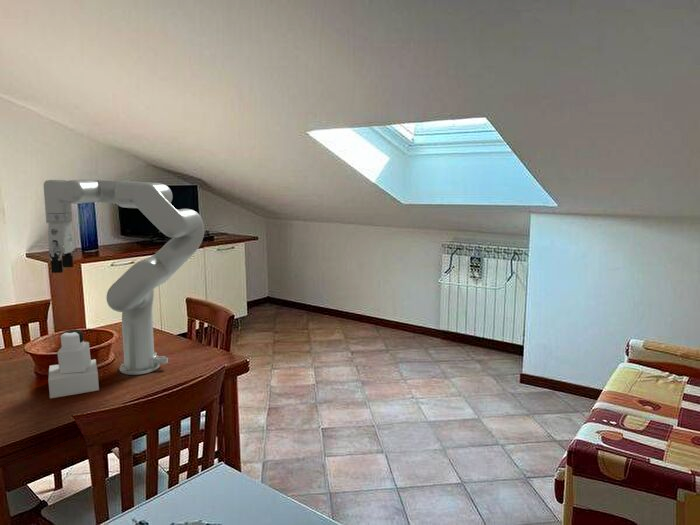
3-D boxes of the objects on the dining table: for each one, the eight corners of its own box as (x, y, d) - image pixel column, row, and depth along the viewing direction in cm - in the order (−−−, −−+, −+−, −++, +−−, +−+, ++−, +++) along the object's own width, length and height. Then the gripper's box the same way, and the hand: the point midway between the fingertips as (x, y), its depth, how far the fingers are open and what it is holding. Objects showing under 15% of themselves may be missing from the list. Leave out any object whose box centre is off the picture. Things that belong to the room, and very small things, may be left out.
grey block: (96, 376, 169) (95, 359, 168) (99, 391, 158) (97, 372, 157) (51, 383, 163) (49, 365, 162) (50, 399, 152) (48, 380, 151)
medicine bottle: (67, 364, 162) (62, 328, 159) (91, 362, 164) (87, 326, 161) (59, 374, 155) (54, 336, 153) (85, 372, 157) (80, 334, 154)
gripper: (62, 220, 161) (65, 274, 164) (80, 216, 178) (83, 265, 181) (35, 220, 159) (39, 275, 162) (56, 215, 176) (60, 265, 179)
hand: (62, 269), depth 171 cm, fingers open, 9 cm apart
